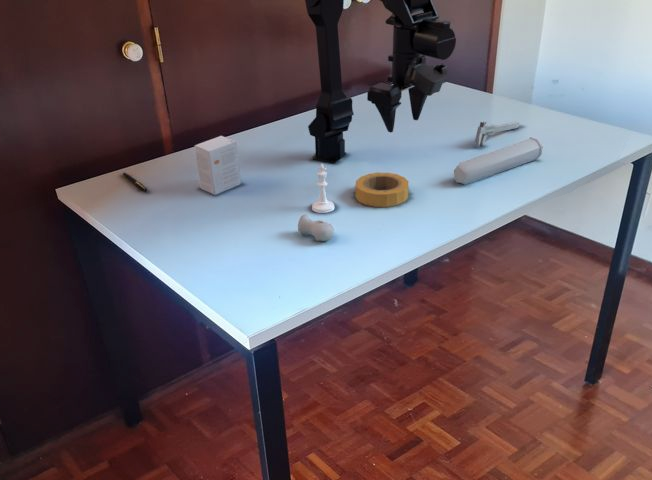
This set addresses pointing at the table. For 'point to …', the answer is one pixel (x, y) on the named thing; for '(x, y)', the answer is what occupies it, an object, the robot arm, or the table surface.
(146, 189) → the fountain pen
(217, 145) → the small box
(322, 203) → the chess piece
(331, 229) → the pale two-lobed sculpture
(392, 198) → the tape roll
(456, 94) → the table surface
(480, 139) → the caliper
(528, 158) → the tube
